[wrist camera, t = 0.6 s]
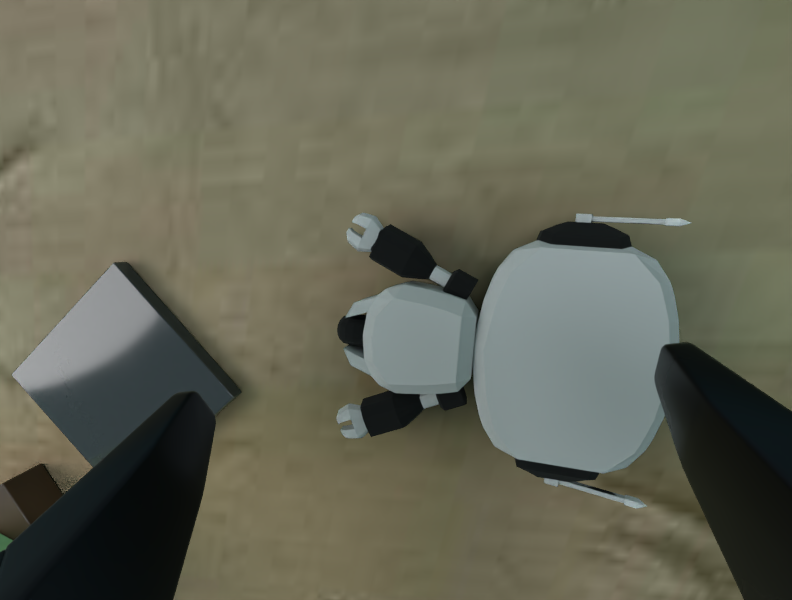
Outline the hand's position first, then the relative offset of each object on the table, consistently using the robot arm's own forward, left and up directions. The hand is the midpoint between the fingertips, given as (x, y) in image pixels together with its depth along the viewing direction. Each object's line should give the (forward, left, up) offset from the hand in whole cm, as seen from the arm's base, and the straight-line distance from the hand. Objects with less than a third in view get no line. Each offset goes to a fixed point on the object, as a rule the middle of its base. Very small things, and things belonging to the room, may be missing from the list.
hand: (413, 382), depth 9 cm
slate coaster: (+6, +18, -15) cm, 24 cm away
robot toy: (-3, -1, -15) cm, 15 cm away
